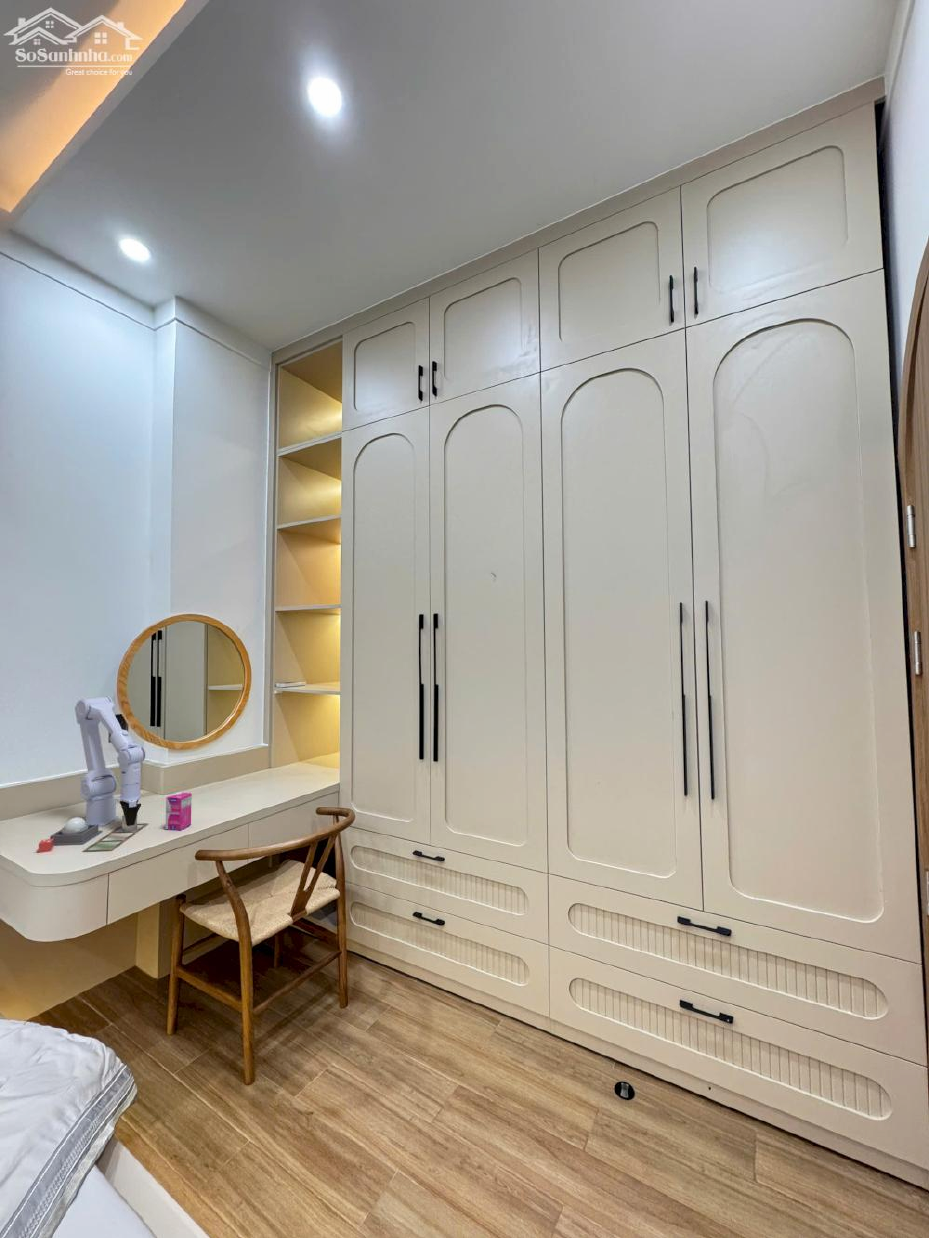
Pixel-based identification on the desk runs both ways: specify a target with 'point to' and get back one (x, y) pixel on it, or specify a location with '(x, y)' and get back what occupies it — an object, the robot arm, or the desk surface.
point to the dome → (75, 826)
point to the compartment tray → (113, 839)
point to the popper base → (75, 837)
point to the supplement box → (178, 811)
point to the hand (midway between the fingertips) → (129, 823)
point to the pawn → (128, 828)
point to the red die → (46, 845)
